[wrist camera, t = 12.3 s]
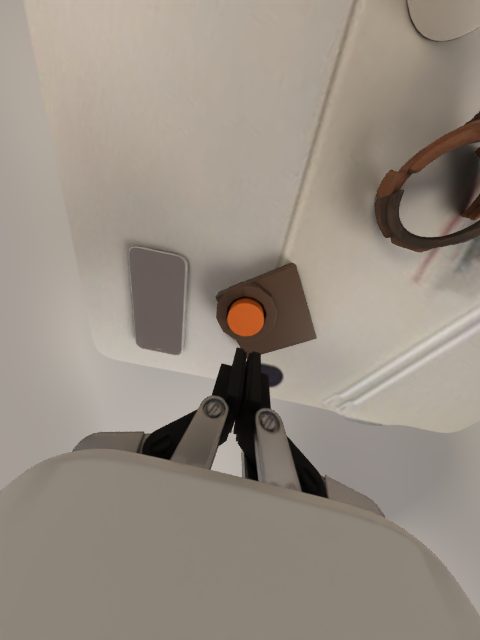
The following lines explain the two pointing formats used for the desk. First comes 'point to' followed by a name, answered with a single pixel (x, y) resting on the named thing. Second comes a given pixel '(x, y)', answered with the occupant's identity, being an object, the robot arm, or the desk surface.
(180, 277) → the smartphone
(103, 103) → the desk surface
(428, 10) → the mug
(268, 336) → the control block
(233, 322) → the power button
